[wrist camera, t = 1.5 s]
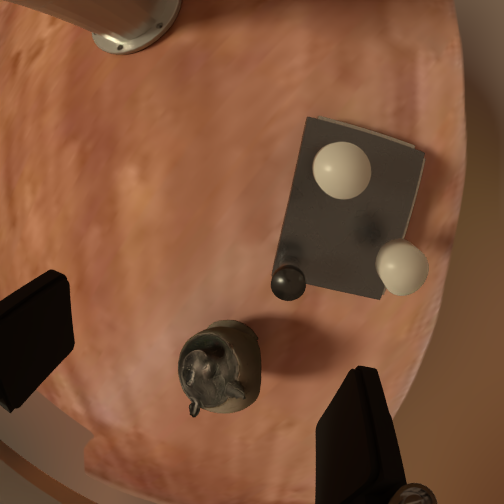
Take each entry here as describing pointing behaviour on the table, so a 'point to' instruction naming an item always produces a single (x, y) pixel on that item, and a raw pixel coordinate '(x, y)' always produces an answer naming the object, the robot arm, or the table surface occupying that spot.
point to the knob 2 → (401, 267)
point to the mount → (348, 210)
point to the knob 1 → (342, 170)
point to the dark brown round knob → (288, 280)
